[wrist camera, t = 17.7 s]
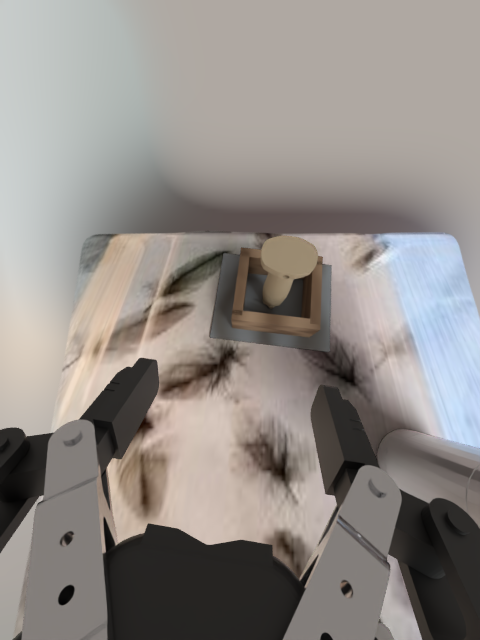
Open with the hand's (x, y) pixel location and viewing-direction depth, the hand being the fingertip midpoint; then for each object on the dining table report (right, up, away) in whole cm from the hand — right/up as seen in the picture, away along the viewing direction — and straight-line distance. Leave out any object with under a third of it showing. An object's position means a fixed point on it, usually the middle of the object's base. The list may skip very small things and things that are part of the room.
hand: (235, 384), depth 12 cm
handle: (+6, +7, +30) cm, 31 cm away
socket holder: (+6, +7, +30) cm, 31 cm away
